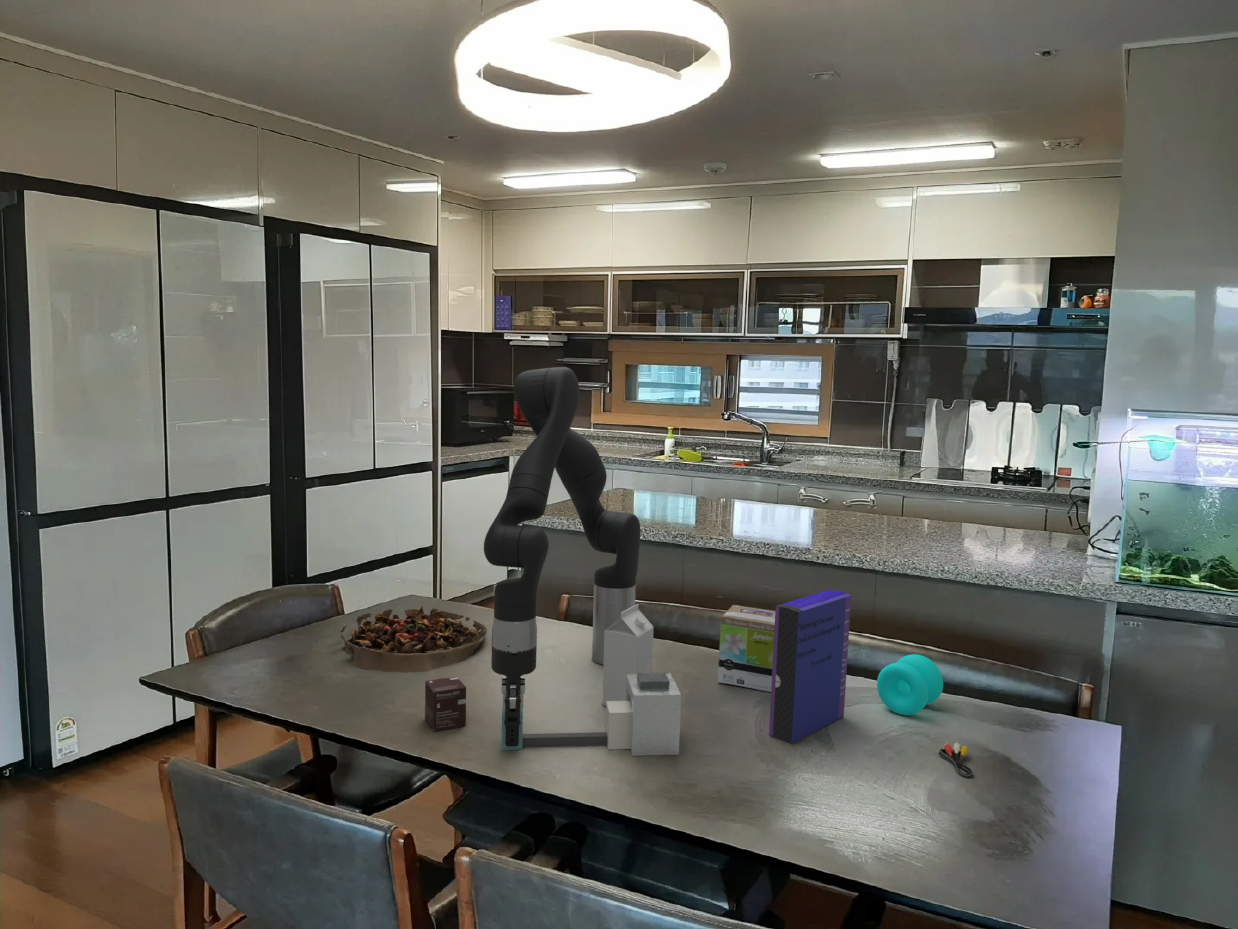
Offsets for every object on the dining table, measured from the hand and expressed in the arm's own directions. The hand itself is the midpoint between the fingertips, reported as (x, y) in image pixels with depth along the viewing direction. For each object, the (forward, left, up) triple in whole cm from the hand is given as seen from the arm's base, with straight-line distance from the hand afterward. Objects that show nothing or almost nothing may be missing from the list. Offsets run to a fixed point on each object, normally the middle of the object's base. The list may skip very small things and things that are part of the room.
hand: (512, 739), depth 141 cm
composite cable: (+11, +74, -2) cm, 75 cm away
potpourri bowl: (-53, -23, -2) cm, 58 cm away
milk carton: (-17, +22, -1) cm, 28 cm away
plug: (0, +11, -1) cm, 11 cm away
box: (-10, -12, -1) cm, 16 cm away
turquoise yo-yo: (-12, +77, -1) cm, 78 cm away
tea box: (-27, +51, -1) cm, 58 cm away
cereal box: (-5, +54, -1) cm, 54 cm away
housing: (0, +24, -1) cm, 24 cm away
